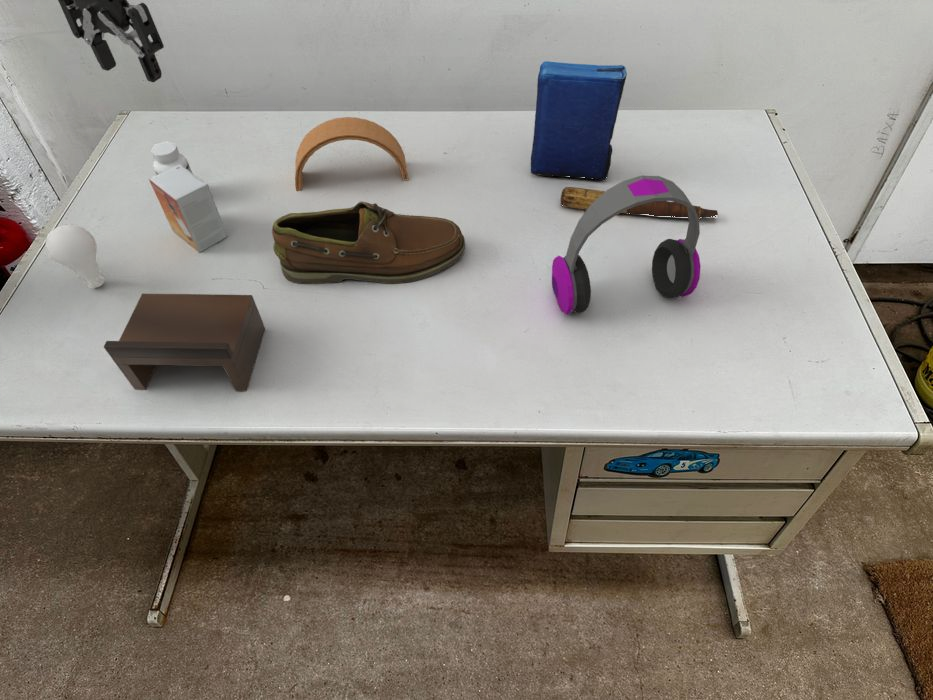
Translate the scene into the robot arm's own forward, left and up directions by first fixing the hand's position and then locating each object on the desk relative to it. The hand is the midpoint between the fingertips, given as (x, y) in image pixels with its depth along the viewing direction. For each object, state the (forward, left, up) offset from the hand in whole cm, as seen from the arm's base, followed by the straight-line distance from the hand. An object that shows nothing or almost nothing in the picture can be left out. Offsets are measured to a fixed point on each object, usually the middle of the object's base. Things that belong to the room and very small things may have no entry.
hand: (132, 73), depth 90 cm
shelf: (+26, -28, -22) cm, 44 cm away
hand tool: (+74, +27, -22) cm, 82 cm away
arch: (+24, +16, -22) cm, 37 cm away
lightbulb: (+3, -23, -22) cm, 32 cm away
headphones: (+76, +6, -22) cm, 80 cm away
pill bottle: (0, 0, -22) cm, 22 cm away
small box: (+9, -7, -22) cm, 25 cm away
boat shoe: (+39, -2, -22) cm, 45 cm away
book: (+60, +33, -22) cm, 72 cm away
